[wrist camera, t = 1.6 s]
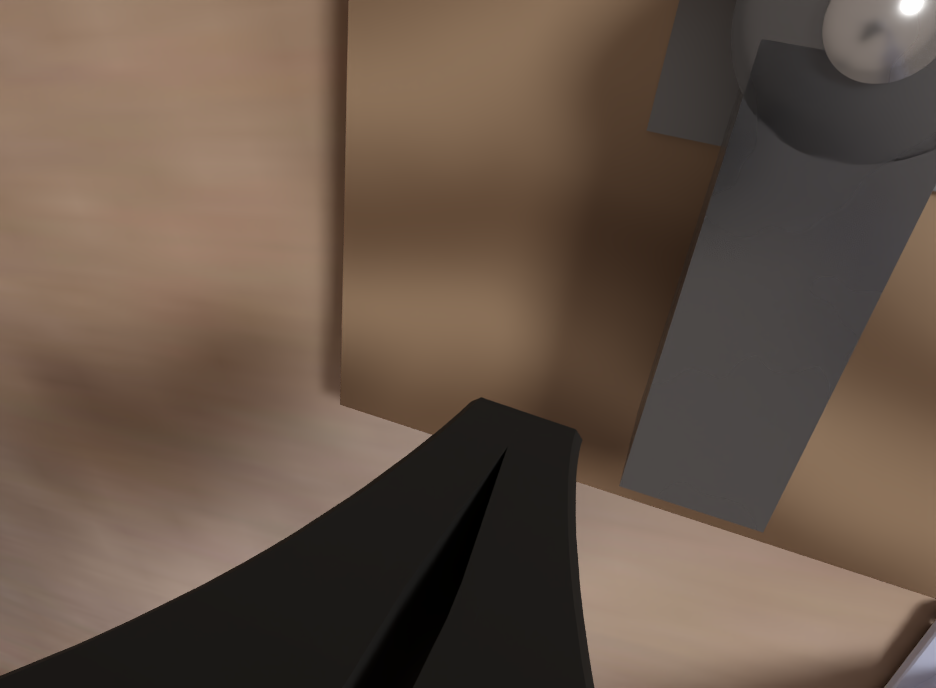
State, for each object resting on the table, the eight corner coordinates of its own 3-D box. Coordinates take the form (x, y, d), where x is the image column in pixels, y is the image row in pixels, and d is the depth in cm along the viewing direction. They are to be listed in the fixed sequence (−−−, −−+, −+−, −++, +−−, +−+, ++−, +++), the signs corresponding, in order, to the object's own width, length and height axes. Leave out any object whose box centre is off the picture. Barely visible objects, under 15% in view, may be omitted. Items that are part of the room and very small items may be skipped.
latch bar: (782, -159, 11) (788, -179, 9) (1061, -126, 11) (1153, -138, 8) (618, 404, 18) (594, 484, 15) (785, 453, 17) (789, 547, 14)
